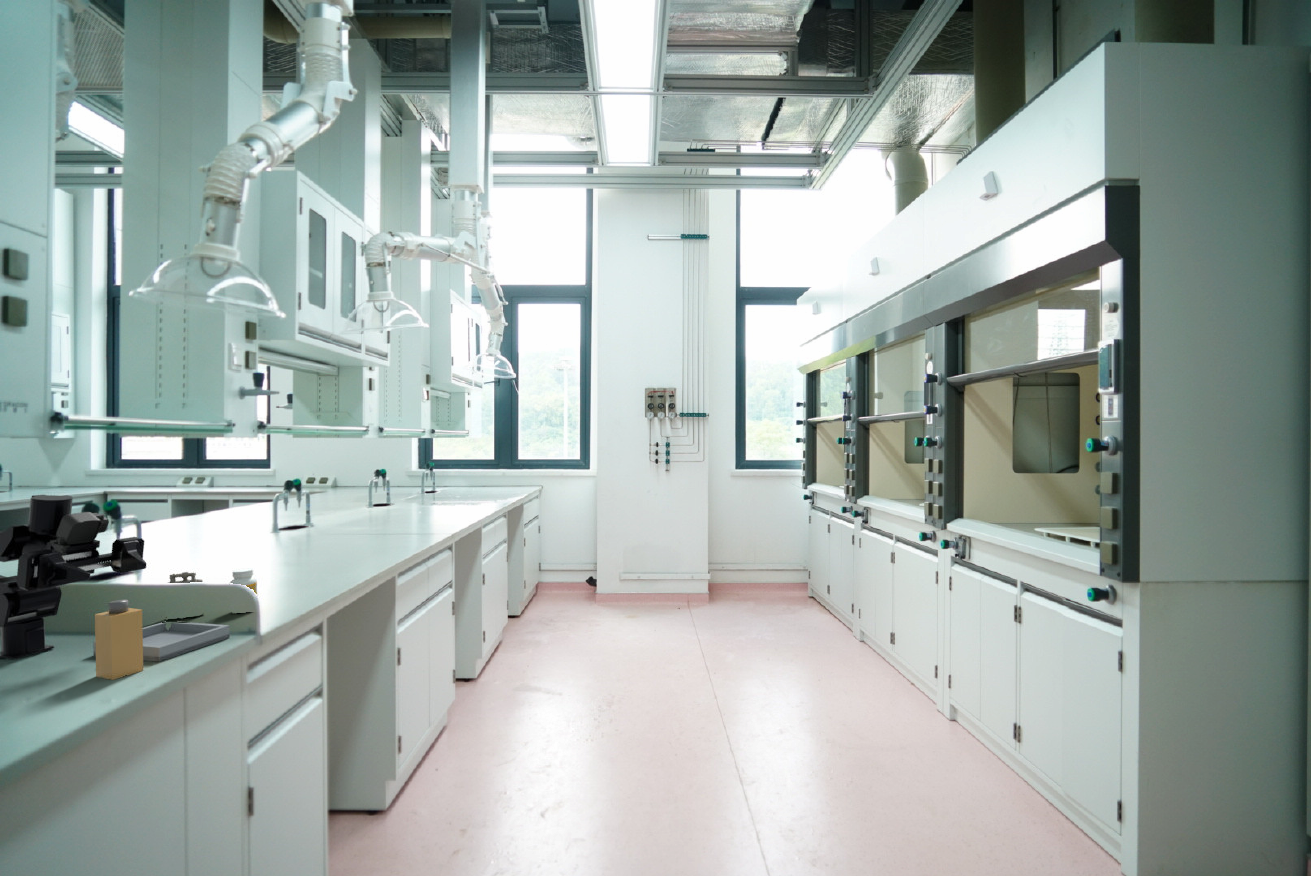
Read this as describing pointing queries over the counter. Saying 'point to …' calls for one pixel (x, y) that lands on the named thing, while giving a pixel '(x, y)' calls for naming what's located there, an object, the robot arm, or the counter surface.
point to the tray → (178, 639)
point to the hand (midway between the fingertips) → (118, 571)
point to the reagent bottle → (118, 641)
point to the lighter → (184, 578)
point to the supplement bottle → (245, 578)
